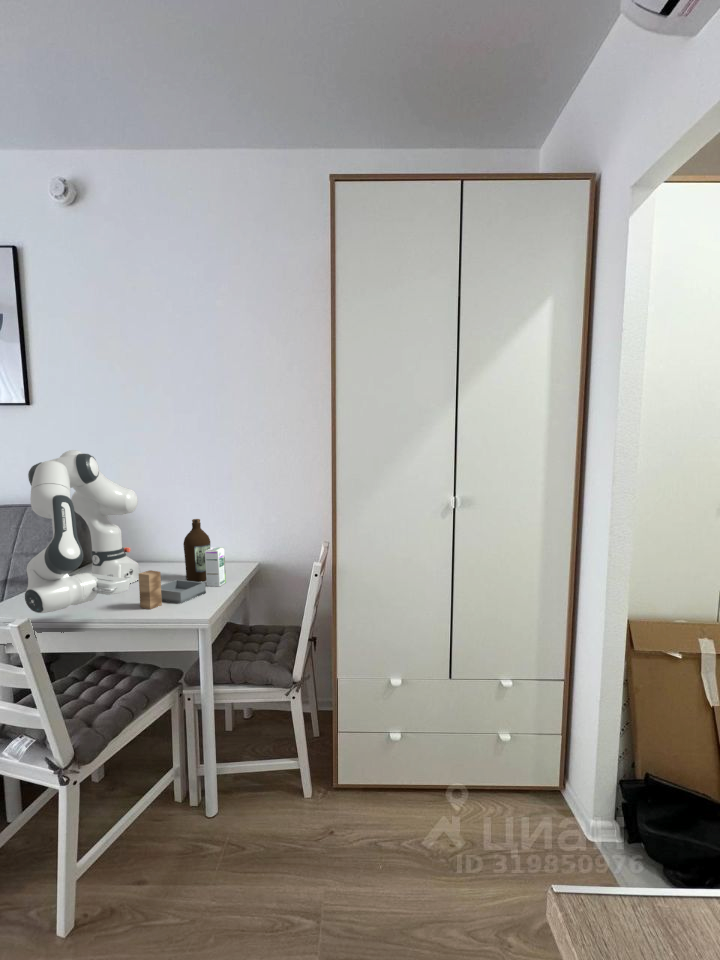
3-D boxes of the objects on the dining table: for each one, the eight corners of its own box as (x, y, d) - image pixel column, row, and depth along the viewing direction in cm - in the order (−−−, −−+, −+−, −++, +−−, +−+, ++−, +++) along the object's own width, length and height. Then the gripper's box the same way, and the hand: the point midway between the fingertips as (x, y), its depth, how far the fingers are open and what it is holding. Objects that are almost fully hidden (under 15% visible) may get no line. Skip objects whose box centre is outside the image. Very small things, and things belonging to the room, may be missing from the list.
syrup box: (220, 586, 217) (218, 550, 215) (206, 586, 218) (204, 550, 217) (226, 583, 222) (224, 547, 221) (212, 582, 223) (211, 547, 222)
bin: (177, 589, 214) (176, 579, 213) (205, 593, 208) (205, 582, 208) (151, 599, 201) (150, 588, 201) (181, 603, 196) (180, 592, 195)
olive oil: (179, 579, 228) (177, 519, 226) (202, 574, 236) (200, 516, 234) (194, 584, 221) (191, 522, 219) (216, 578, 229) (214, 518, 227)
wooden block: (150, 609, 190) (148, 575, 189) (140, 607, 192) (138, 573, 191) (161, 605, 194) (160, 571, 193) (151, 603, 196) (150, 570, 195)
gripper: (105, 581, 165) (143, 571, 177) (62, 574, 174) (100, 565, 186) (106, 602, 165) (144, 590, 177) (63, 594, 175) (101, 584, 187)
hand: (121, 577), depth 182 cm, fingers open, 8 cm apart
